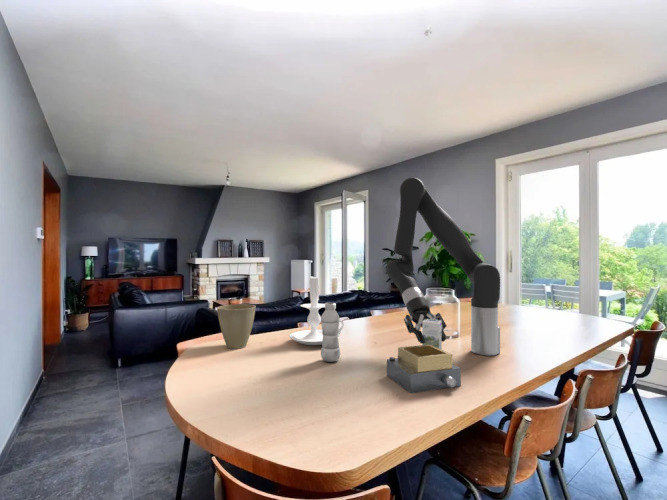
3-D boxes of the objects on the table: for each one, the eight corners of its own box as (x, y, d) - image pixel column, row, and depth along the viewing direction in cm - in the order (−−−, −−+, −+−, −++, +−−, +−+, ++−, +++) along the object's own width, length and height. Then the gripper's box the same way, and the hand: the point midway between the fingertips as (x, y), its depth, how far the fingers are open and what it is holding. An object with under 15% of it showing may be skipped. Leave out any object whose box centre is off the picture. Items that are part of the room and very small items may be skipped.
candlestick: (356, 344, 144) (356, 275, 144) (301, 352, 132) (301, 278, 132) (333, 333, 162) (332, 273, 162) (282, 340, 150) (282, 274, 151)
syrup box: (442, 361, 120) (442, 319, 121) (439, 367, 115) (439, 322, 115) (425, 359, 123) (425, 318, 123) (422, 364, 118) (421, 321, 118)
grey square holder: (432, 370, 112) (432, 341, 112) (468, 390, 96) (467, 356, 96) (386, 375, 107) (386, 346, 107) (416, 397, 91) (416, 362, 91)
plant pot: (263, 344, 143) (263, 305, 143) (235, 353, 131) (235, 310, 131) (237, 340, 151) (237, 302, 151) (208, 347, 139) (208, 307, 139)
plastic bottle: (338, 364, 118) (338, 304, 118) (318, 363, 119) (318, 304, 119) (341, 358, 124) (341, 302, 124) (323, 357, 125) (323, 301, 125)
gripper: (401, 296, 125) (419, 336, 113) (436, 295, 129) (456, 333, 118) (394, 309, 130) (410, 349, 119) (428, 307, 134) (446, 345, 123)
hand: (433, 341), depth 118 cm, fingers closed on syrup box, 8 cm apart
